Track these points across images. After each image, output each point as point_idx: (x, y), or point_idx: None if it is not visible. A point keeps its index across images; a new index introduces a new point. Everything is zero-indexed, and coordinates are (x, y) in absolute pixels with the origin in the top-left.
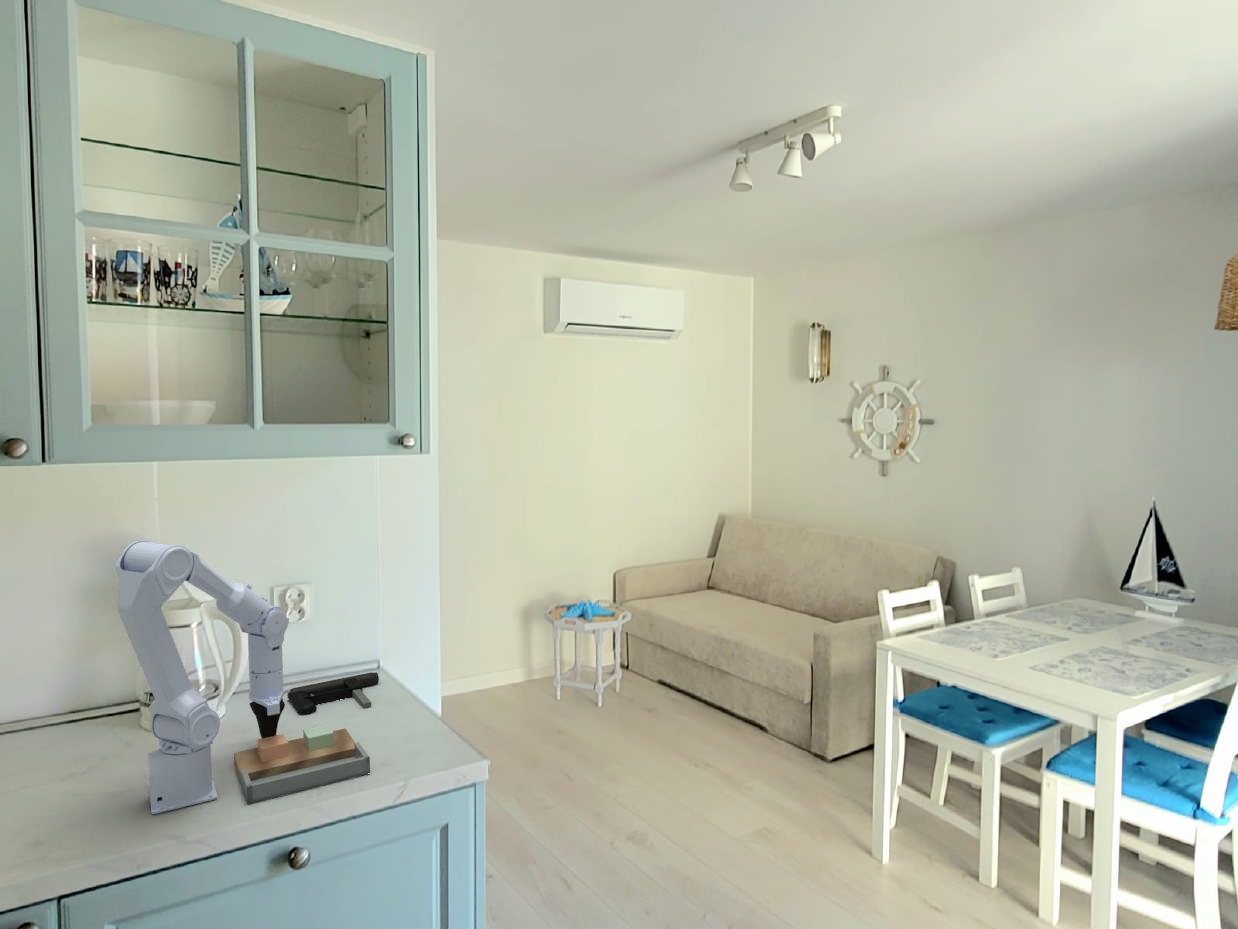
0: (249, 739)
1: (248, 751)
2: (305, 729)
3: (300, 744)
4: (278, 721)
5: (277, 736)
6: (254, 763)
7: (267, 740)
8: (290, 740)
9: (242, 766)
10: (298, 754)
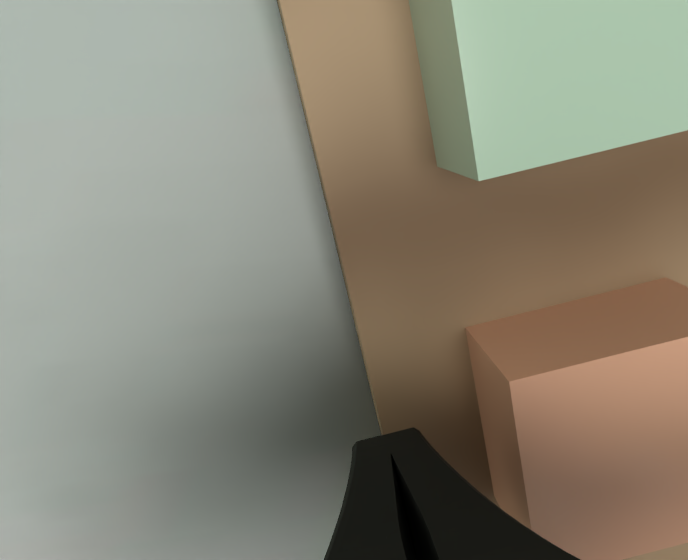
0: (42, 549)
1: None
2: (487, 154)
3: (472, 193)
4: (503, 514)
5: (554, 429)
6: None
7: (607, 501)
8: (348, 285)
9: (679, 551)
10: (674, 199)
